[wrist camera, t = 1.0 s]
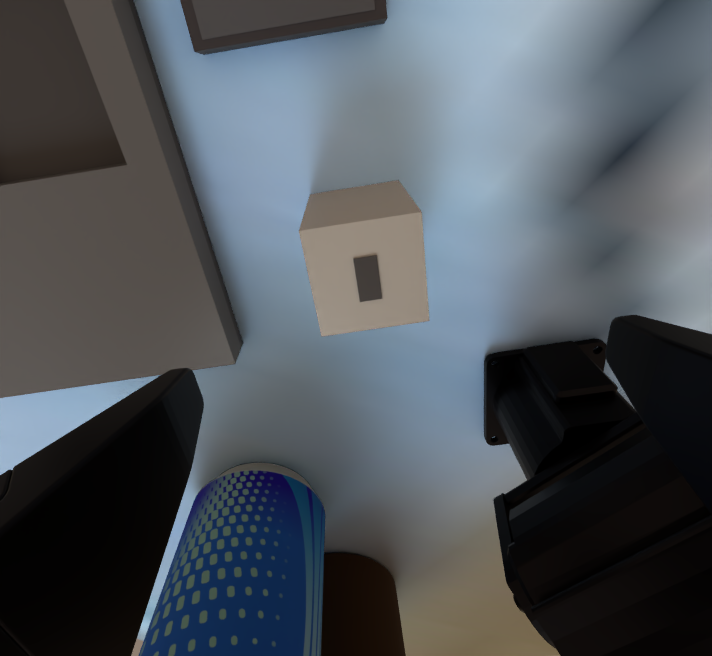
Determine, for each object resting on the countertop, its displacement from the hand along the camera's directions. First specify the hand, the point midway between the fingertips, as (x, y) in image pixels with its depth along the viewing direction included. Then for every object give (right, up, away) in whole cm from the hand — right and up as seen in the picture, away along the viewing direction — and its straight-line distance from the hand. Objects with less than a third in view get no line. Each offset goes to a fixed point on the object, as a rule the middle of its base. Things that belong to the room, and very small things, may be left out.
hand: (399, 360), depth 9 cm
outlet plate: (-15, +7, +9) cm, 19 cm away
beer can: (-7, -11, +19) cm, 23 cm away
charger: (-1, +5, +11) cm, 12 cm away
